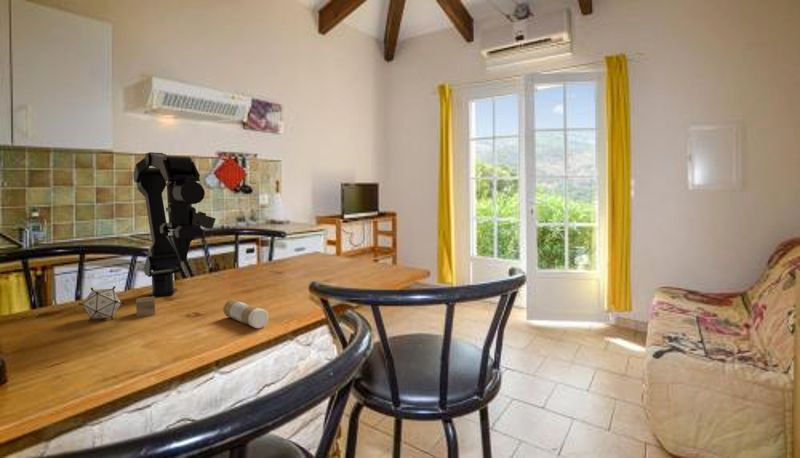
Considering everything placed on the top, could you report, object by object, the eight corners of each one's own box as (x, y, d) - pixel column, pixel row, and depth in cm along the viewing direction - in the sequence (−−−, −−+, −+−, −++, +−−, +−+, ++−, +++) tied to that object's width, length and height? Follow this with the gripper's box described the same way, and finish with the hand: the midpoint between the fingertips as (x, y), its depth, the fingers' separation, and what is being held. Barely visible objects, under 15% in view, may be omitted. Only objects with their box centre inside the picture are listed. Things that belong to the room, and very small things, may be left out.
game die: (105, 335, 102) (93, 311, 95) (78, 321, 103) (64, 296, 97) (135, 309, 109) (126, 285, 102) (109, 296, 110) (98, 271, 103)
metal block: (137, 313, 108) (136, 298, 108) (155, 310, 110) (154, 296, 110) (136, 317, 105) (135, 302, 104) (155, 315, 107) (154, 300, 106)
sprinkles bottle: (241, 307, 109) (272, 318, 100) (228, 320, 106) (258, 332, 98) (232, 295, 106) (263, 305, 98) (218, 308, 103) (249, 319, 95)
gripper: (223, 203, 109) (226, 261, 110) (200, 202, 122) (203, 254, 124) (177, 204, 101) (181, 267, 103) (157, 203, 115) (161, 258, 116)
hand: (183, 261), depth 111 cm, fingers closed
